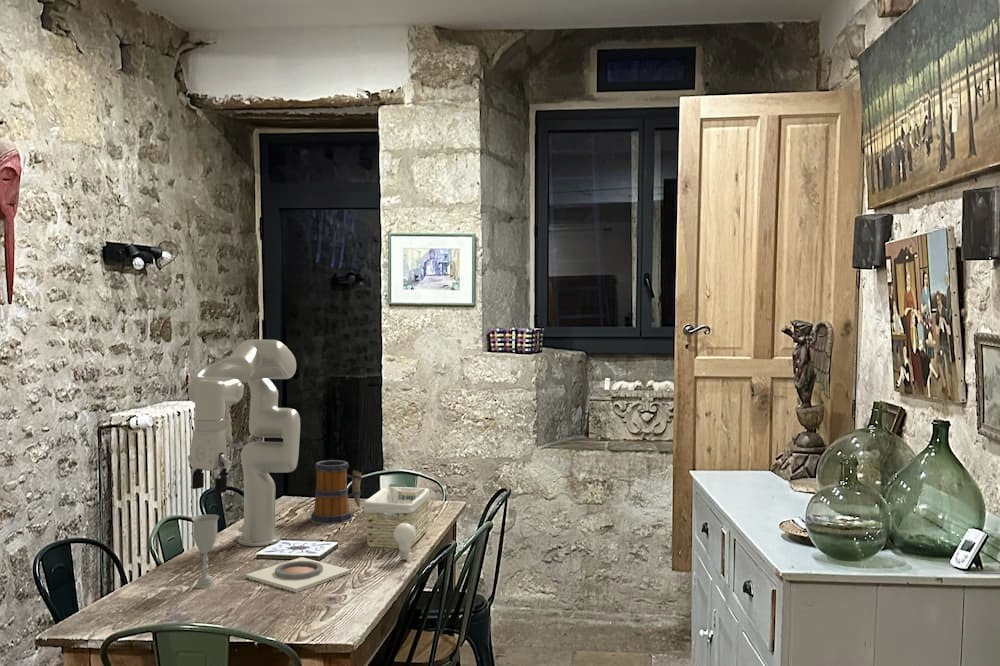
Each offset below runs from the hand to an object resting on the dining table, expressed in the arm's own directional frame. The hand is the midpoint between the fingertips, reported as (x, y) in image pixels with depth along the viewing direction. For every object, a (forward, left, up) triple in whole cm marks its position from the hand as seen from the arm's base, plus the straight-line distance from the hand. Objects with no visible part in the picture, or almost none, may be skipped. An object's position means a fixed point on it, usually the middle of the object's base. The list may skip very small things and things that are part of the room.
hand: (209, 490), depth 218 cm
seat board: (+14, +19, -25) cm, 34 cm away
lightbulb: (+28, +47, -25) cm, 60 cm away
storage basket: (+11, +63, -26) cm, 69 cm away
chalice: (0, -1, -25) cm, 25 cm away
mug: (-24, +71, -25) cm, 79 cm away
